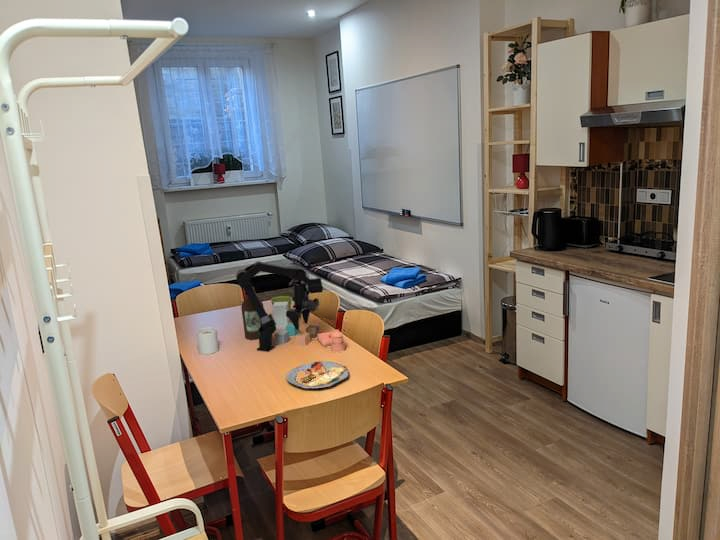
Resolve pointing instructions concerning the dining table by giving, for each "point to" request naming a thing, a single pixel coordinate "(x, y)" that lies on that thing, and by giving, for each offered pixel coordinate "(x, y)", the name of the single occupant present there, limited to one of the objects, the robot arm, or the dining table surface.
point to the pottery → (332, 340)
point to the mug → (207, 340)
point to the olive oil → (250, 319)
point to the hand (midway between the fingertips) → (301, 326)
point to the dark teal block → (292, 330)
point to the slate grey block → (281, 337)
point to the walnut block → (313, 331)
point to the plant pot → (282, 300)
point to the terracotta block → (302, 339)
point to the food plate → (318, 368)
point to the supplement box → (280, 314)
